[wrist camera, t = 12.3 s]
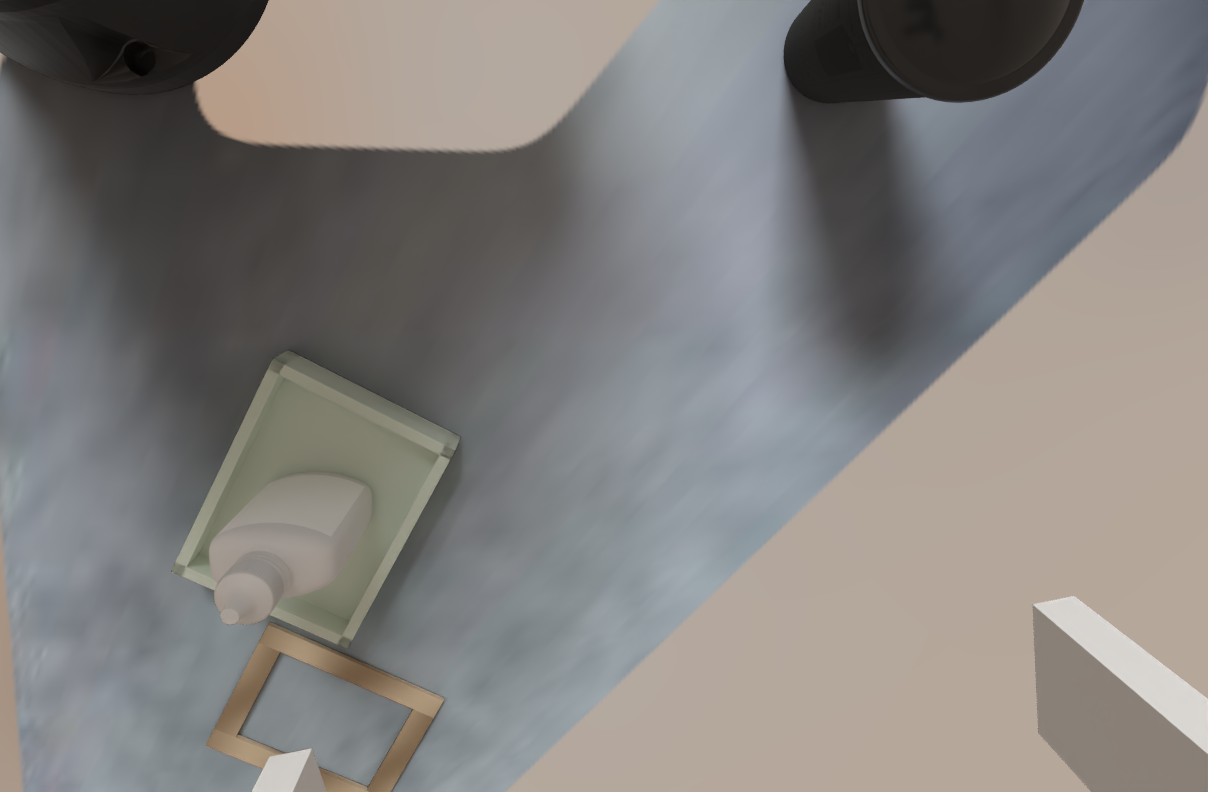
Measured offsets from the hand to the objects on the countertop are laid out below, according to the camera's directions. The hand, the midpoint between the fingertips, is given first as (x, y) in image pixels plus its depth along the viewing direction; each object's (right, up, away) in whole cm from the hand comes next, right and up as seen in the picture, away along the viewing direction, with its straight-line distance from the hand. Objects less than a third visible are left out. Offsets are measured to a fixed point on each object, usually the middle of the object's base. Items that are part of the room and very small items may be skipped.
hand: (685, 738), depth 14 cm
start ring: (-18, -13, +32) cm, 39 cm away
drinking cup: (+10, +23, +25) cm, 35 cm away
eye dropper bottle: (-17, +1, +28) cm, 33 cm away
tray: (-17, +1, +28) cm, 33 cm away
